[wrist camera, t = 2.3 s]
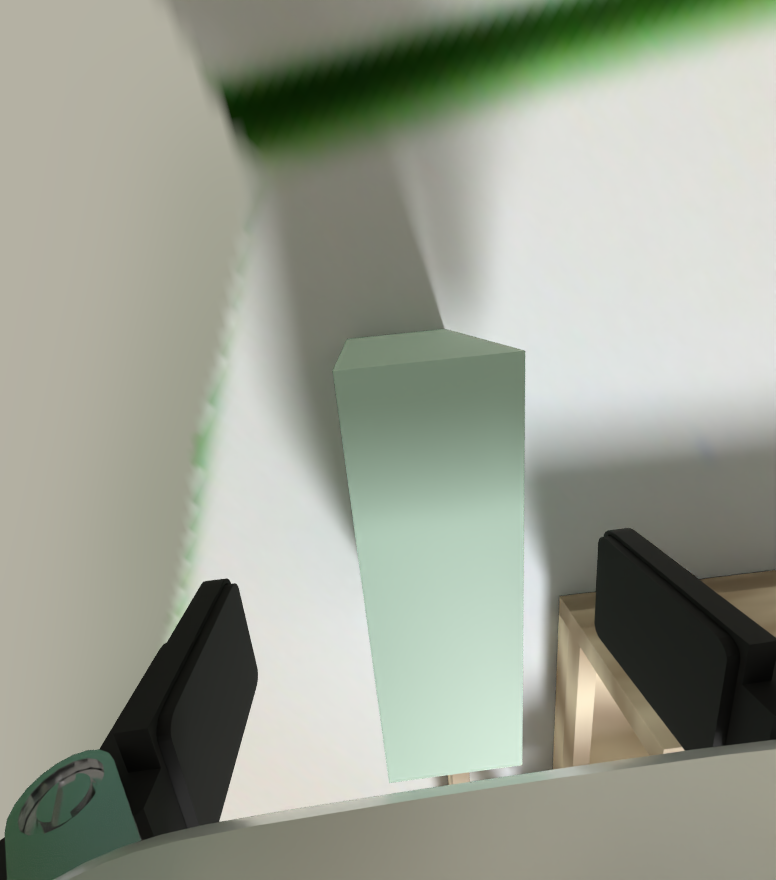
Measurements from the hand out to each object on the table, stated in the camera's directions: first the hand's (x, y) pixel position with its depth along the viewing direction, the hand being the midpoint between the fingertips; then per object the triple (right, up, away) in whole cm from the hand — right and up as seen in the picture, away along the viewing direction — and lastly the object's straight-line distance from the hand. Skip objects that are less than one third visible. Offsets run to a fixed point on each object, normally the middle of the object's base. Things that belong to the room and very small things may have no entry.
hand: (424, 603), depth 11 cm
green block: (0, +3, +6) cm, 7 cm away
